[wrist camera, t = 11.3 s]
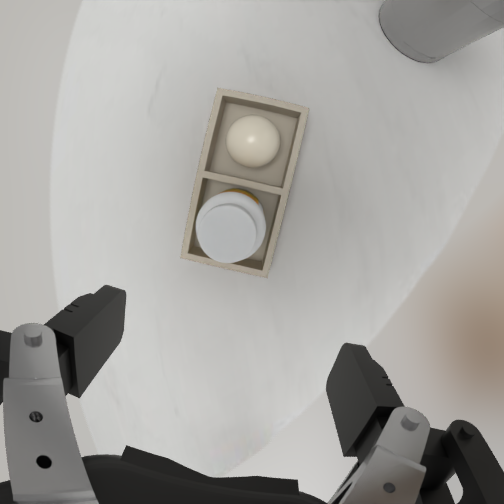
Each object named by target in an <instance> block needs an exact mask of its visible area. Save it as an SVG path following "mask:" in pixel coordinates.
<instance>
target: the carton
mask: <svg viewBox="0 0 504 504" xmlns="http://www.w3.org/2000/svg"><path fill="white" fill-rule="evenodd" d="M308 112H309V108H307V107H303V106H299V105H295V104H291V103H288V102H284V101H279V100H275V99H271V98H266V97H262V96H257V95H253V94H248V93H243V92H237V91H232V90H226V89H221V88H218V89H217V92H216V96H215V100H214V104H213V107H212V111H211V115H210V119H209V123H208V127H207V131H206V135H205V140H204V144H203V148H202V152H201V157H200V161H199V166H198V170H197V175H196V179H195V184H194V189H193V194H192V198H191V203H190V208H189V214H188V219H187V224H186V229H185V235H184V240H183V246H182V251H181V257H180V258H183V259H187V260H191V261H195V262H199V263H204V264H208V265H212V266H216V267H221V268H225V269H229V270H234V271H238V272H242V273H247V274H251V275H256V276H260V277H264V278H267V277H268V273H269V270H270V266H271V262H272V258H273V254H274V250H275V246H276V243H277V239H278V235H279V231H280V227H281V223H282V219H283V215H284V211H285V207H286V203H287V199H288V195H289V191H290V187H291V183H292V179H293V175H294V171H295V167H296V162H297V158H298V154H299V150H300V146H301V142H302V137H303V133H304V129H305V125H306V121H307V116H308ZM251 114H253V115H260V116H263V117H266V118H267V119H269V120H270V121H271V122H272V123H273V124H274V125H275V126H276V128H277V129H278V132H279V135H280V148H279V151H278V153H277V155H276V156H275V157H274V159H273V160H272V161H271V162H269V163H268V164H266V165H264V166H261V167H256V168H249V167H245V166H242V165H240V164H238V163H236V162H235V161H234V160H233V159H232V158H231V157H230V155H229V153H228V151H227V149H226V144H225V138H226V133H227V131H228V128H229V127H230V125H231V124H232V123H233V122H234V121H235V120H237V119H238V118H240V117H242V116H245V115H251ZM232 188H240V189H244V190H247V191H249V192H251V193H252V194H254V195H255V196H256V197H257V198H258V199H259V201H260V203H261V205H262V207H263V210H264V215H265V221H266V232H265V237H264V240H263V242H262V244H261V246H260V247H259V248H258V250H257V251H256V252H255V253H254V254H252V255H251V256H250V257H248V258H246V259H244V260H241V261H238V262H234V263H221V262H218V261H215V260H213V259H212V258H210V257H209V256H208V255H207V254H206V253H205V252H204V251H203V249H202V248H201V246H200V243H199V241H198V238H197V235H196V219H197V216H198V213H199V211H200V209H201V208H202V206H203V205H204V204H205V203H206V202H207V201H208V200H209V199H210V198H211V197H213V196H215V195H216V194H218V193H220V192H222V191H225V190H227V189H232Z"/></svg>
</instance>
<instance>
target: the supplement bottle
mask: <svg viewBox="0 0 504 504" xmlns="http://www.w3.org/2000/svg"><path fill="white" fill-rule="evenodd" d="M265 232H266V221H265V215H264V210H263V207H262V205H261V203H260V201H259V199H258V198H257V197H256V196H255V195H254V194H252V193H251V192H249V191H247V190H244V189H240V188H232V189H227V190H225V191H222V192H220V193H218V194H216V195H215V196H213V197H211V198H210V199H209V200H208V201H207V202H206V203H205V204H204V205H203V206H202V208H201V209H200V211H199V213H198V216H197V219H196V235H197V238H198V241H199V243H200V246H201V248H202V249H203V251H204V252H205V253H206V254H207V255H208V256H209V257H210V258H212V259H213V260H215V261H218V262H221V263H234V262H238V261H241V260H244V259H246V258H248V257H250V256H251V255H252V254H254V253H255V252H256V251H257V250H258V248H259V247H260V246H261V244H262V242H263V240H264V237H265Z"/></svg>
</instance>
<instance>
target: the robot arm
mask: <svg viewBox="0 0 504 504" xmlns="http://www.w3.org/2000/svg"><path fill="white" fill-rule="evenodd" d="M379 18H380V24H381V26H382V29H383V31H384V33H385V35H386V36H387V38H388V39H389V40H390V42H391V43H392V44H393V45H394V46H395V47H396V48H397V49H398V50H399V51H401V52H402V53H403V54H405V55H406V56H408V57H410V58H412V59H414V60H417V61H420V62H425V63H430V62H435V61H438V60H440V59H442V58H444V57H445V56H447V55H449V54H451V53H453V52H455V51H457V50H459V49H461V48H463V47H465V46H467V45H469V44H471V43H473V42H475V41H477V40H479V39H481V38H483V37H485V36H487V35H489V34H491V33H493V32H495V31H497V30H499V29H501V28H504V0H386V1H385V3H384V4H383V5H382V7H381V9H380V14H379ZM125 305H126V292H125V290H122V289H119V288H115V287H112V286H109V285H104V286H103V287H102V288H101V289H99V290H98V291H97V292H96V293H95V294H91V293H89V294H86V295H83V296H80V297H78V298H77V299H75V300H74V301H73V302H72V303H71V304H69V305H68V306H66V307H65V308H64V310H61V311H60V312H59V313H58V314H56V316H54V317H53V318H52V319H50V320H49V321H48V322H47V323H45V324H44V325H42V324H38V323H28V324H24V325H20V326H19V327H17V328H16V329H15V330H14V331H13V333H9V332H5V331H1V330H0V405H1V403H2V402H3V412H4V433H5V445H6V454H7V462H8V469H9V476H10V480H9V481H5V482H1V483H0V504H455V503H454V500H453V498H452V495H451V493H450V490H449V488H448V486H447V483H446V482H447V481H448V480H449V479H450V478H451V477H452V476H453V475H454V474H455V473H456V474H457V476H458V478H459V481H460V483H461V485H462V487H463V496H462V498H461V500H460V502H459V503H457V504H504V472H503V470H502V468H501V467H500V465H499V463H498V461H497V460H496V458H495V456H494V455H493V453H492V451H491V450H490V448H489V446H488V444H487V443H486V441H485V440H484V438H483V437H482V435H481V433H480V432H479V430H478V429H477V428H476V427H475V426H474V425H472V424H471V423H469V422H467V421H464V420H455V421H453V422H452V423H451V424H450V426H449V427H448V428H447V430H446V431H444V430H439V429H434V428H430V424H429V421H428V420H427V418H426V417H425V416H424V415H423V414H422V413H420V412H419V411H417V410H415V409H413V408H409V407H405V406H404V405H403V403H402V401H401V399H400V397H399V395H398V394H397V392H396V390H395V388H394V387H393V386H392V383H391V381H390V379H388V376H387V374H386V372H385V371H384V369H383V368H382V367H381V366H380V365H379V364H378V363H377V362H376V361H375V360H373V359H372V358H371V356H370V354H369V352H368V350H367V349H366V347H365V346H363V345H356V344H350V343H345V344H343V346H342V347H341V349H340V352H339V354H338V356H337V359H336V361H335V363H334V365H333V367H332V370H331V372H330V374H329V376H328V379H327V384H326V392H327V396H328V399H329V403H330V406H331V410H332V414H333V418H334V421H335V425H336V429H337V433H338V437H339V441H340V444H341V448H342V452H343V456H344V457H346V456H347V457H351V456H352V457H357V458H358V461H357V462H356V464H355V465H354V466H353V467H352V469H351V471H350V472H349V474H348V475H347V477H346V478H345V480H344V481H343V482H342V484H341V485H340V487H339V488H338V489H337V491H336V492H335V494H334V495H333V497H332V498H331V499H330V500H329V502H328V503H326V502H324V501H322V500H321V499H318V498H316V497H314V496H312V495H309V494H306V493H304V492H300V491H299V488H298V480H293V479H281V478H269V477H261V476H249V477H230V478H229V477H226V478H213V477H208V476H206V475H203V474H201V473H199V472H196V471H194V470H192V469H189V468H187V467H185V466H183V465H181V464H179V463H177V462H174V461H172V460H170V459H168V458H165V457H162V456H158V455H155V454H151V453H148V452H145V451H142V450H139V449H136V448H133V447H130V446H127V445H126V447H125V450H124V452H123V454H122V456H119V455H106V454H105V455H91V456H85V457H81V455H80V452H79V448H78V445H77V442H76V438H75V434H74V431H73V427H72V423H71V419H70V415H69V411H68V407H67V402H66V397H65V396H66V395H67V394H68V393H69V394H71V395H74V396H76V397H78V398H80V397H81V395H82V394H83V393H84V391H85V390H86V388H87V387H88V386H89V384H90V383H91V381H92V380H93V379H94V377H95V376H96V374H97V373H98V372H99V370H100V369H101V368H102V366H103V365H104V363H105V362H106V361H107V359H108V358H109V357H110V355H111V354H112V353H113V351H114V350H115V349H116V347H117V346H118V345H119V343H120V341H121V339H122V335H123V331H124V319H125Z"/></svg>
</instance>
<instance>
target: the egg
mask: <svg viewBox="0 0 504 504" xmlns="http://www.w3.org/2000/svg"><path fill="white" fill-rule="evenodd" d="M225 144H226V149H227V151H228V153H229V155H230V157H231V158H232V159H233V160H234V161H235V162H236V163H238V164H240V165H242V166H245V167H249V168H256V167H261V166H264V165H266V164H268V163H269V162H271V161H272V160H273V159H274V157H275V156H276V155H277V153H278V151H279V148H280V135H279V132H278V129H277V128H276V126H275V125H274V124H273V123H272V122H271V121H270V120H269V119H267V118H266V117H263V116H260V115H253V114H251V115H245V116H242V117H240V118H238V119H237V120H235V121H234V122H233V123H232V124H231V125H230V127H229V128H228V131H227V133H226V138H225Z"/></svg>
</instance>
